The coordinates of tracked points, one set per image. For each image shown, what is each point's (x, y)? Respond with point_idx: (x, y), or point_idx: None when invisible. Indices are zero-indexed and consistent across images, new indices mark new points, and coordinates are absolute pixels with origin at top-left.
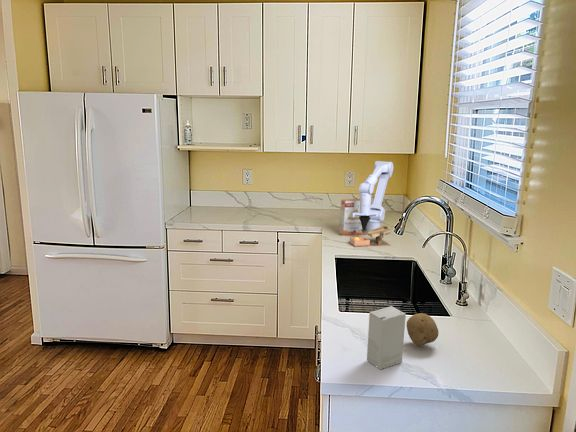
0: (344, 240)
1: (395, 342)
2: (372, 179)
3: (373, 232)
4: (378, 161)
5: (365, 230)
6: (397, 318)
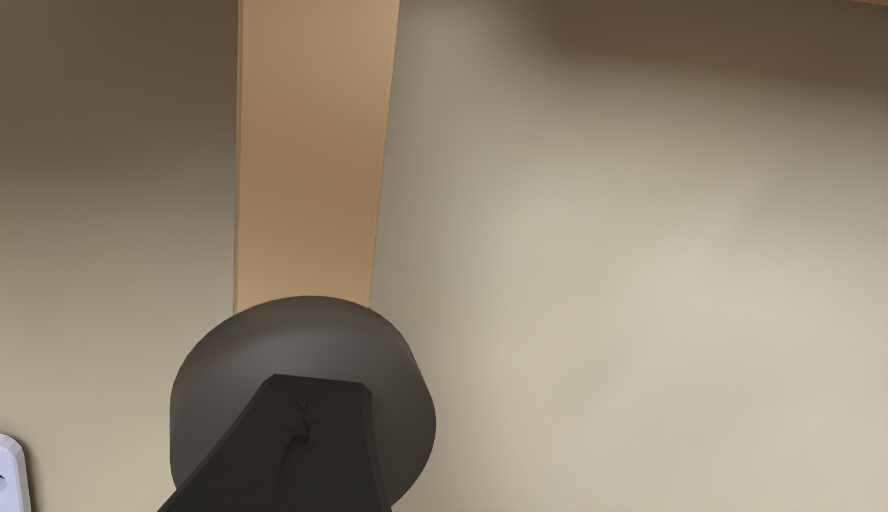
0: (809, 417)
1: None
2: None
3: None
4: None
5: (276, 330)
6: None
